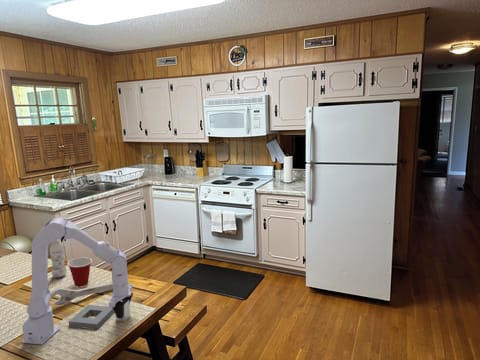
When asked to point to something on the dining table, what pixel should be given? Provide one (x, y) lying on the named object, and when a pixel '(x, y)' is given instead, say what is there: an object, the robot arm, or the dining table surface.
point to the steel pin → (124, 311)
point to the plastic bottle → (57, 259)
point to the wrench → (78, 293)
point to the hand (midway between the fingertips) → (122, 314)
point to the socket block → (96, 322)
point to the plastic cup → (80, 270)
